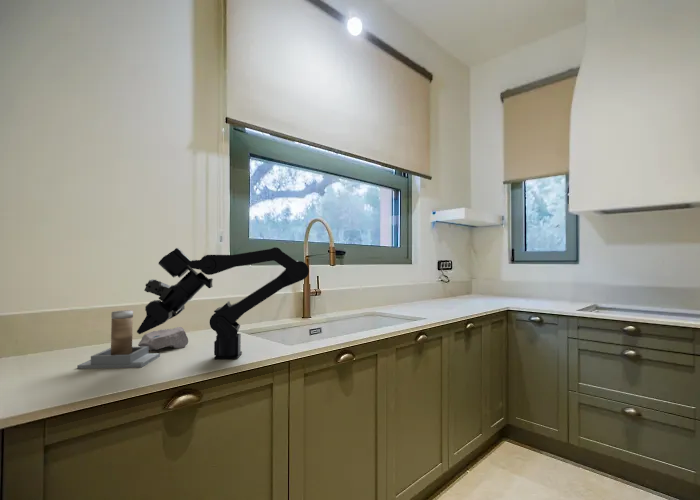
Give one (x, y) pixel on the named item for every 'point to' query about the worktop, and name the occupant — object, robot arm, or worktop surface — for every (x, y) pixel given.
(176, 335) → the stone
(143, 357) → the cradle
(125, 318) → the round tan cylinder
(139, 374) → the worktop surface
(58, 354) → the worktop surface
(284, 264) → the robot arm
